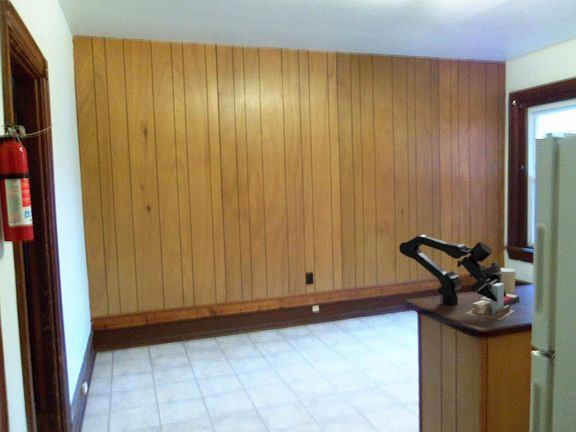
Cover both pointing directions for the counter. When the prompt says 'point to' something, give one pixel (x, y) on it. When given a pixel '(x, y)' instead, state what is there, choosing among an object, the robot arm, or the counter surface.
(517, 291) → the counter surface
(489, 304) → the offcut stack
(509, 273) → the coffee cup
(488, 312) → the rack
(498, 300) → the light blue brick
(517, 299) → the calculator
